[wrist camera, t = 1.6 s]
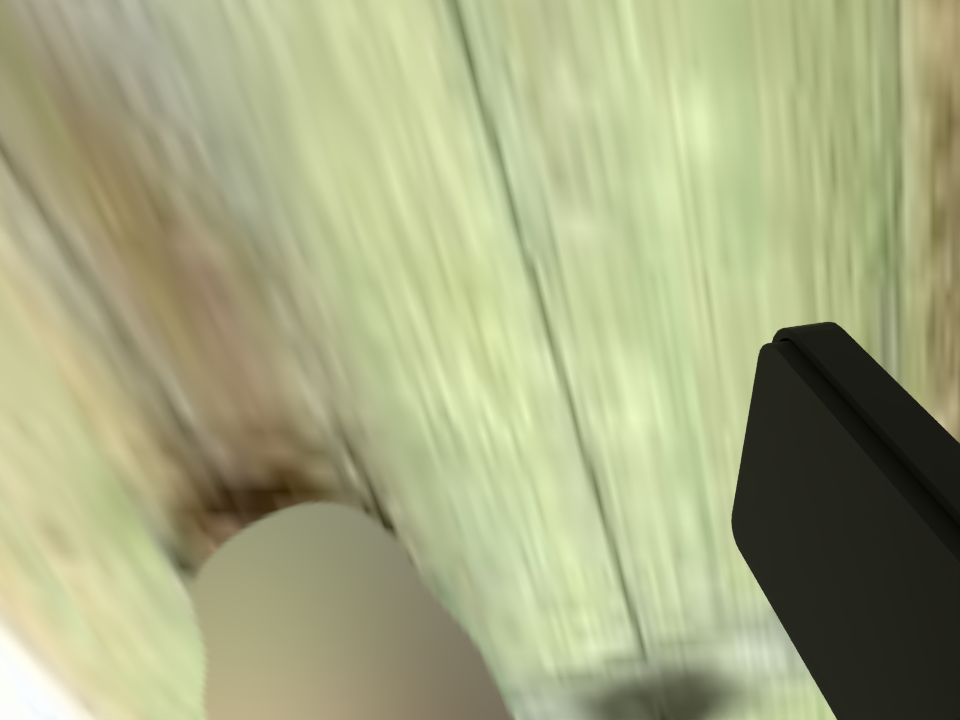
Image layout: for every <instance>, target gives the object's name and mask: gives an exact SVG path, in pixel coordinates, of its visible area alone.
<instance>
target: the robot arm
mask: <svg viewBox="0 0 960 720" xmlns="http://www.w3.org/2000/svg"><path fill="white" fill-rule="evenodd" d="M731 522H732V531H733V535H734V539H735V542H736V544H737V546H738V549H739V551H740V552H741V554H742V556H743V557H744V559H745V561H746V563H747V564H748V566H749V568H750V570H751V571H752V573H753V575H754V577H755V578H756V580H757V582H758V583H759V585H760V587H761V589H762V590H763V592H764V594H765V596H766V597H767V599H768V601H769V602H770V604H771V606H772V608H773V609H774V611H775V613H776V615H777V616H778V618H779V620H780V622H781V623H782V625H783V627H784V628H785V630H786V632H787V634H788V635H789V637H790V639H791V641H792V642H793V644H794V646H795V647H796V649H797V651H798V653H799V654H800V656H801V658H802V660H803V661H804V663H805V665H806V667H807V668H808V670H809V672H810V673H811V675H812V677H813V679H814V680H815V682H816V684H817V686H818V687H819V689H820V691H821V692H822V694H823V696H824V698H825V699H826V701H827V703H828V705H829V706H830V708H831V710H832V712H833V713H834V715H835V717H836V718H837V720H960V443H959V442H957V441H956V440H955V439H954V438H953V437H952V436H951V435H950V434H949V433H948V432H947V431H946V430H945V429H944V428H943V427H942V426H941V425H940V424H939V423H938V422H937V421H936V420H935V419H934V418H933V417H932V416H931V415H930V414H929V413H928V412H927V411H926V410H925V409H924V408H923V407H922V406H921V405H920V404H919V403H918V402H917V401H916V400H915V399H914V398H913V397H912V396H911V395H910V394H909V393H908V392H907V391H906V390H905V389H904V388H903V387H902V386H900V385H899V384H898V383H897V382H896V381H895V380H894V379H893V378H892V377H891V376H890V375H889V374H888V373H887V372H886V371H885V370H884V369H883V368H882V367H881V366H880V365H879V364H878V363H877V362H876V361H875V360H874V359H873V358H872V357H871V356H870V355H869V354H868V353H867V352H866V351H865V350H864V349H863V348H862V347H861V346H860V345H859V344H858V343H857V342H856V341H855V340H854V339H853V338H852V337H851V336H850V335H849V334H848V333H847V332H846V331H845V330H844V329H842V328H841V327H840V326H839V325H837V324H836V323H833V322H823V323H816V324H809V325H802V326H795V327H788V328H782V329H780V330H779V331H777V333H776V334H775V336H774V337H773V341H772V343H767V344H765V345H763V346H762V348H761V350H760V353H759V356H758V362H757V368H756V374H755V380H754V386H753V392H752V398H751V404H750V410H749V416H748V422H747V427H746V433H745V439H744V445H743V451H742V457H741V463H740V469H739V475H738V481H737V487H736V493H735V499H734V505H733V511H732V520H731Z"/></svg>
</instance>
